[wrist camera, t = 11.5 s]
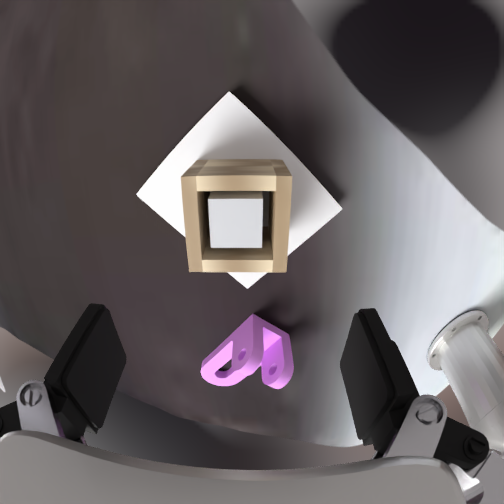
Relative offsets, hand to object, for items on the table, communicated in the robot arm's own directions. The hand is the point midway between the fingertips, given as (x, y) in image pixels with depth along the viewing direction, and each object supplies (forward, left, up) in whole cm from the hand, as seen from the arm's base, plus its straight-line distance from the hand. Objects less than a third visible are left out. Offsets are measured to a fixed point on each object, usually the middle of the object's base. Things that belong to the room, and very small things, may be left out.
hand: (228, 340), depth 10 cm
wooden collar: (0, 0, -16) cm, 16 cm away
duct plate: (0, 0, -18) cm, 18 cm away
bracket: (-14, +15, -18) cm, 27 cm away
